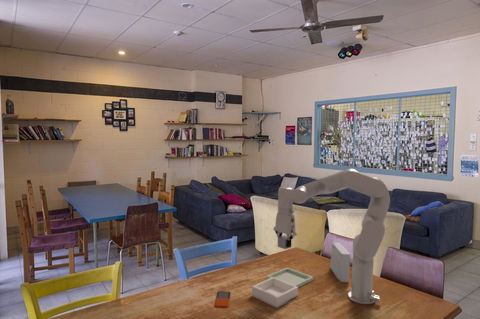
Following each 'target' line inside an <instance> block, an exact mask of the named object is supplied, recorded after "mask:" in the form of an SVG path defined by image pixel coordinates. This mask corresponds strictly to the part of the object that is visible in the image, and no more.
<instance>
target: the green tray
mask: <svg viewBox="0 0 480 319" xmlns="http://www.w3.org/2000/svg"><path fill="white" fill-rule="evenodd" d="M272 277H275V278H277V279H280V280H282V281H284V282H287V283H289V284H292V285H294V286H297V287H298V289H299V288H300V287H303V286H305V285H306V284H309V283H311V282H312V281H314V276H312V275H310V274H307V273H303V272H301V271H299V270H295V269H292V268H290V267H285V268H282V269H280V270H278V271H276V272H273V273H271V274H270V273H269V274H268V275H267V276H266V280H267V279H270V278H272Z"/></svg>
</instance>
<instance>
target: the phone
mask: <svg viewBox="0 0 480 319" xmlns="http://www.w3.org/2000/svg"><path fill="white" fill-rule="evenodd" d="M230 299H231V291H224V290H220V291H217V293H216V298H215V302H214V308H227V309H228V308H229V307H230V306H229V305H230Z"/></svg>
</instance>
